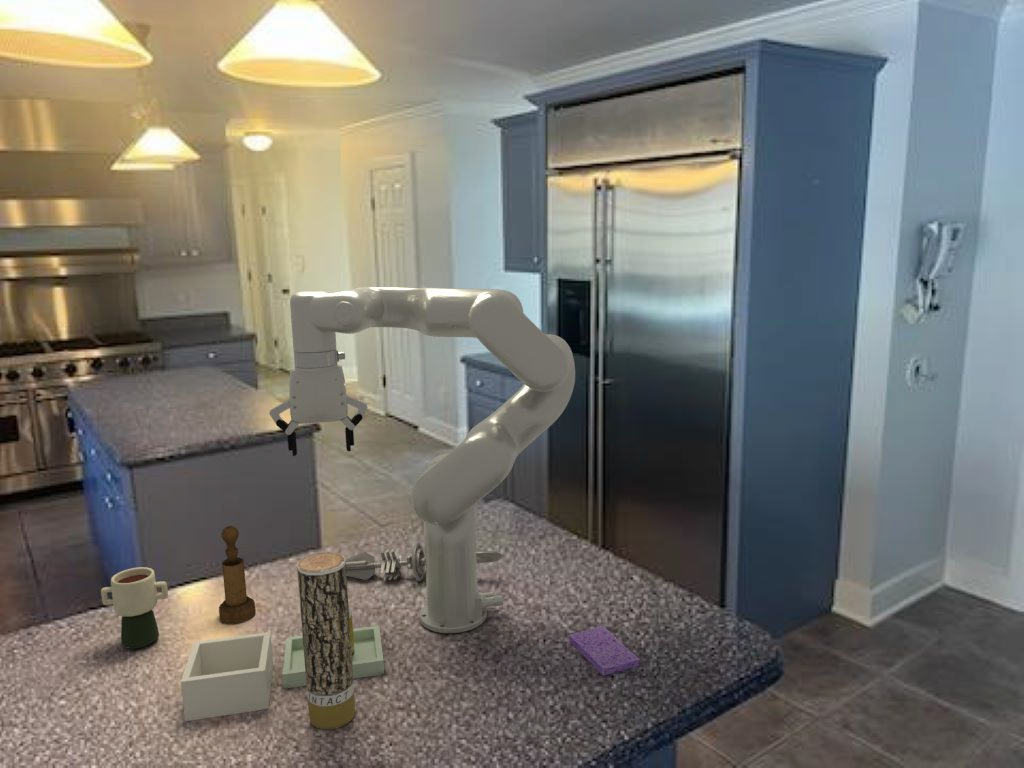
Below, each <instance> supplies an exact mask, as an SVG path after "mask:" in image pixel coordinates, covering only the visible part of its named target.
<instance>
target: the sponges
mask: <svg viewBox="0 0 1024 768" xmlns="http://www.w3.org/2000/svg"><path fill="white" fill-rule="evenodd" d="M568 640H569V642H570V643H571V644H572V645H573V646H574V647H575V648H576V649H577V650H578V651H579V652H580V653H581V654H582V655H583V656H584V658H585V659H587V660H588V662H589V663H590V664H591V665H592V666H593V667H594V668H595V669H596V670H597V671H598V673H600V674H601V675H602V676H607V675H611V674H614V673H618V672H621V671H625V670H629V669H632V668H635V667H639V665H640V664H639V663H640V658H639V657H638V656H636V655H635V653H633V652H632V651H630V650H628V647H626V646H625V644H624V643H622V642H621V641H620V640H619V639H618V638H617V637H616V636H615V635H614V634H613V633H611V631H610V630H608V629H607V628H606V627H605V626H604V625H600V626H597V627H594V628H590V629H588V630H584V631H580V632H574V633H569V638H568Z"/></svg>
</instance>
